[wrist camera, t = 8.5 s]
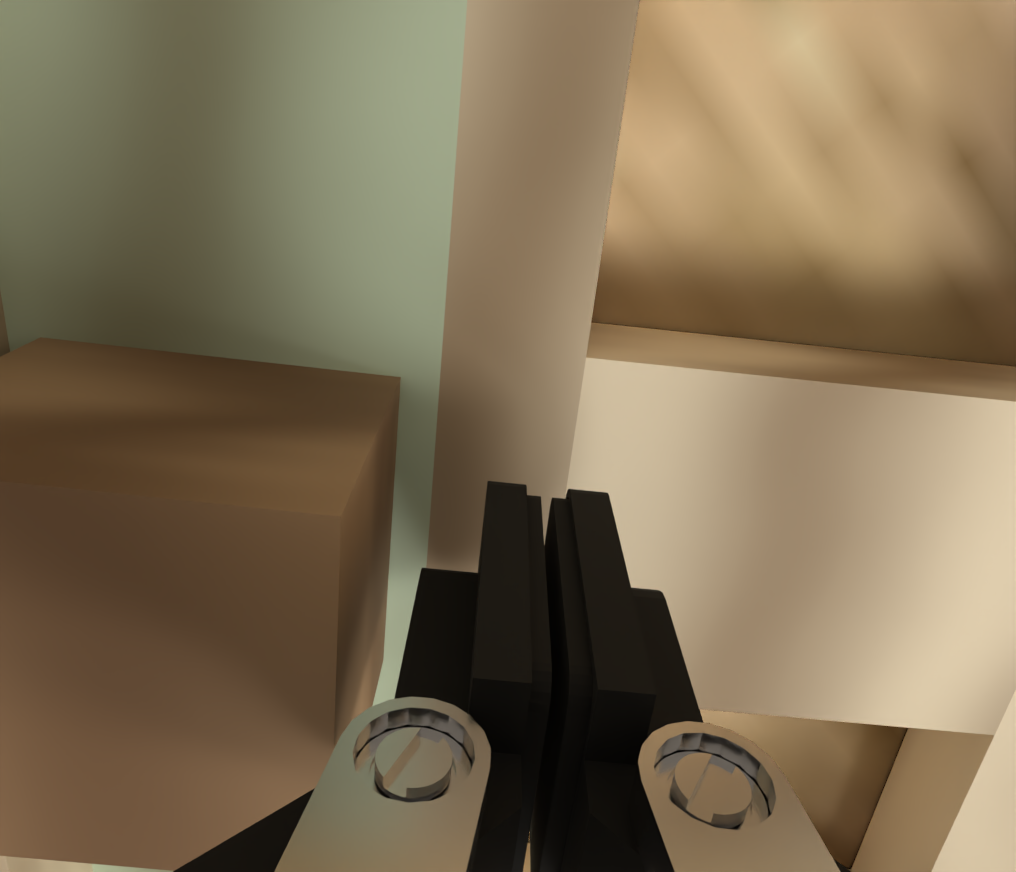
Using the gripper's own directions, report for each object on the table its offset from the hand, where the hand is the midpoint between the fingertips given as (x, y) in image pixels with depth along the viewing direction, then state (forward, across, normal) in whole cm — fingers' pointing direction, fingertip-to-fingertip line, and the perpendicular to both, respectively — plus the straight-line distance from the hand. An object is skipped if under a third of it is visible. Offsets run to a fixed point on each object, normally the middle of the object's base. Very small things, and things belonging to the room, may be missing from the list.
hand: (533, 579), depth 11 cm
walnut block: (+1, +5, 0) cm, 5 cm away
